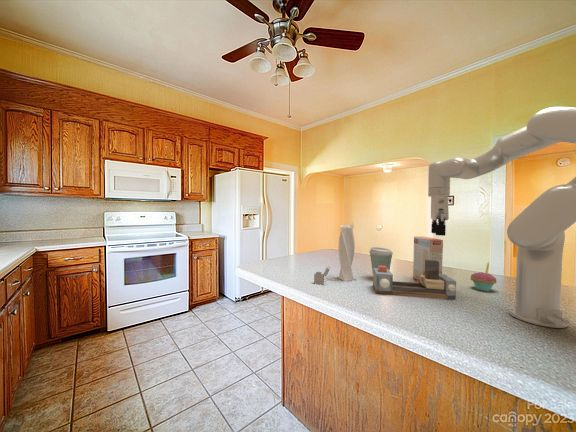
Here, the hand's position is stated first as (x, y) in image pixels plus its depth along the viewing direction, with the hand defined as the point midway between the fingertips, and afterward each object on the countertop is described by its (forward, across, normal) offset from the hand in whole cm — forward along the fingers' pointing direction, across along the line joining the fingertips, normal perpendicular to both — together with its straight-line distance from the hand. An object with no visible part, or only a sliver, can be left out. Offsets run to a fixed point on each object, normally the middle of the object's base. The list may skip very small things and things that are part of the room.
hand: (438, 234), depth 98 cm
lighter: (+24, -10, +46) cm, 53 cm away
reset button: (+18, -8, +21) cm, 29 cm away
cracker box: (+24, +11, +2) cm, 26 cm away
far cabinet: (+24, -8, +21) cm, 33 cm away
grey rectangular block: (+24, -4, -2) cm, 24 cm away
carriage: (+20, -5, +3) cm, 21 cm away
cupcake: (+24, +10, -18) cm, 32 cm away
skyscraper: (+24, +2, +37) cm, 44 cm away
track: (+24, -6, +10) cm, 26 cm away
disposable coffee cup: (+24, +9, +22) cm, 33 cm away
